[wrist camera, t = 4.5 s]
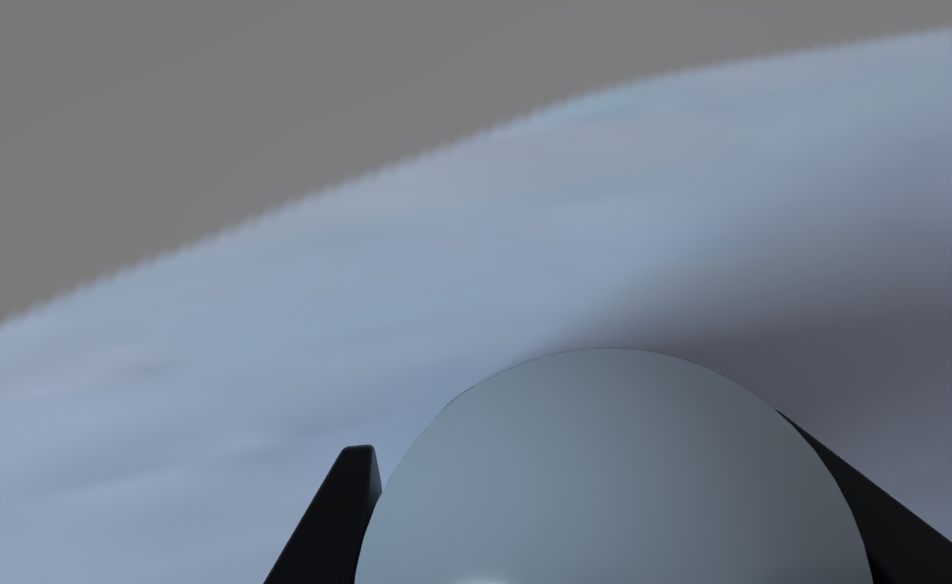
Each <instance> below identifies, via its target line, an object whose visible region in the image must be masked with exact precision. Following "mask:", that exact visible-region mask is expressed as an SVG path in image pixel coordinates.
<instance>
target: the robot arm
mask: <svg viewBox="0 0 952 584" xmlns="http://www.w3.org/2000/svg"><path fill="white" fill-rule="evenodd" d="M774 410H775V409H774ZM776 411H777V410H776ZM777 412H778V413H779V414H780V415H781V416H782V417H783V418H785V419H786V420H787V421H788V422H789V423H790V424H791V425H792V426H793V427H794V428H795V429H796V430H797V431H798V432H799V433H800V435H801V436H802V437H803V438H804V439H805V440H806V441H807V442H808V444H809V445H810V446H811V447H812V448H813V449H814V450H815V452H816V453H817V455H818V456H819V457H820V459H821V460H822V462H823V463H824V465H825V466H826V468H827V469H828V470H829V472H830V473H831V475H832V476H833V478H834V479H835V481H836V483H837V485H838V487H839V489H840V490H841V492H842V494H843V496H844V498H845V500H846V502H847V504H848V506H849V508H850V510H851V512H852V514H853V517H854V520H855V522H856V525H857V527H858V530H859V533H860V535H861V538H862V541H863V543H864V547H865V551H866V555H867V559H868V563H869V567H870V571H871V575H872V579H873V584H952V542H951V541H949V540H948V539H947V538H945V537H944V536H943V535H942V534H940V533H939V532H938V531H936V530H935V529H934V528H932V527H931V526H930V525H928V524H927V523H926V522H924V521H923V520H922V519H920V518H919V517H918V516H916V515H915V514H914V513H913V512H911V511H910V510H909V509H907V508H906V507H905V506H903V505H902V504H901V503H899V502H898V501H897V500H895V499H894V498H893V497H891V496H890V495H889V494H887V493H886V492H885V491H884V490H882V489H881V488H880V487H878V486H877V485H876V484H874V483H873V482H872V481H870V480H869V479H868V478H866V477H865V476H864V475H862V474H861V473H860V472H859V471H857V470H856V469H855V468H853V467H852V466H851V465H849V464H848V463H847V462H845V461H844V460H843V459H841V458H840V457H839V456H837V455H836V454H835V453H833V452H832V451H831V450H830V449H828V448H827V447H826V446H824V445H823V444H822V443H820V442H819V441H818V440H816V439H815V438H814V437H812V436H811V435H810V434H808V433H807V432H806V431H804V430H803V429H802V428H801V427H799V426H798V425H797V424H795V423H794V422H793V421H791V420H790V419H789V418H787V417H786V416H785V415H783V414H782V413H781V412H779V411H777ZM381 494H382V486H381V480H380V474H379V469H378V464H377V459H376V454H375V449H374V447H373V446H371V445H358V446H348V447H346V448H344V449H343V450H342V451H341V453H340V454H339V456H338V458H337V459H336V461H335V463H334V464H333V466H332V468H331V469H330V471H329V473H328V475H327V476H326V478H325V480H324V481H323V483H322V485H321V486H320V488H319V490H318V492H317V493H316V495H315V497H314V498H313V500H312V502H311V503H310V505H309V507H308V509H307V510H306V512H305V514H304V515H303V517H302V519H301V520H300V522H299V524H298V525H297V527H296V529H295V531H294V532H293V534H292V536H291V537H290V539H289V541H288V542H287V544H286V546H285V548H284V549H283V551H282V553H281V554H280V556H279V558H278V559H277V561H276V563H275V565H274V566H273V568H272V570H271V571H270V573H269V575H268V576H267V578H266V580H265V582H264V583H263V584H355V574H356V569H357V565H358V560H359V556H360V552H361V548H362V543H363V539H364V536H365V533H366V530H367V528H368V525H369V522H370V519H371V517H372V514H373V511H374V509H375V506H376V503H377V501H378V500H379V498H380V496H381Z"/></svg>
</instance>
